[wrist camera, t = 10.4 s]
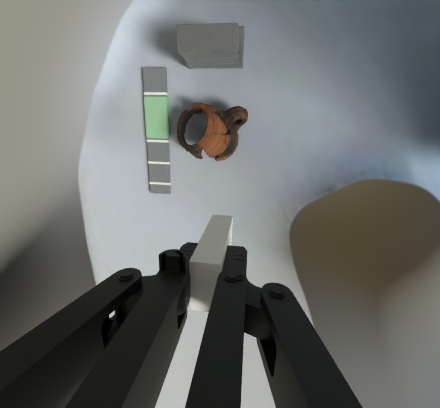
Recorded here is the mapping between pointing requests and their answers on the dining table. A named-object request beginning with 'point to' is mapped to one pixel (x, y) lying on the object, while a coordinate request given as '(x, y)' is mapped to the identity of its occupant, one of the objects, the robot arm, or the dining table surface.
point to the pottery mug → (214, 131)
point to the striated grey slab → (211, 45)
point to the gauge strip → (157, 128)
